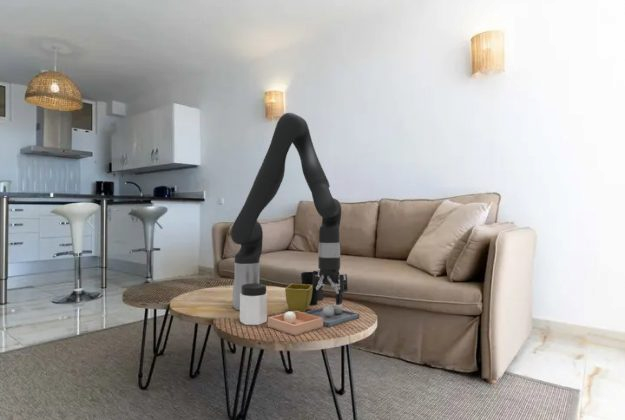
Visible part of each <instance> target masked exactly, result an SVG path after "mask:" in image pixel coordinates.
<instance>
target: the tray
mask: <svg viewBox="0 0 625 420" xmlns="http://www.w3.org/2000/svg"><path fill="white" fill-rule="evenodd" d="M322 310H323V307H320V308H315V309H311V310H306V311H305V312H303V313H307V314H310V315H314V316H318V317H321V318H323V327H325V326H326V328H330V326H331V327H333V326H334V327H335V326H336V325H339V324H343V323H347V322H351V321H353V320H356V319H359V318H360V312H359V313H358V312H355V311H351V310H346V309H343V311H342V312H341V313H340V314H335V313H333V315H332V316H330V317H326V316H325V315H324V314H323V311H322Z"/></svg>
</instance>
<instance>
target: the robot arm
mask: <svg viewBox="0 0 625 420" xmlns="http://www.w3.org/2000/svg"><path fill="white" fill-rule="evenodd" d="M292 145H293V146H294V147H295V149H296V151H297V154H298V156H299V159H300V164H301V170H302V173H303V176H304V179H305V181H306V184H307V186H308V188H309V191H310V192H311V196H312V201H313V204H314V207H315V210H316V212H317V213H318V215H319V216H320V217H321V218H322V222H321V225H320V227H319V228H318V230H319V231H318V248H317V249H318V250H317V251H318V252H317V254H318V258H317V259H318V269H317V270H316V269H315V270H313V271H312V272H313V279H312V287H313V288H316V290H317V299H318V301H317V302H320V301H321V302H322V301H324V287H325V286H329V287H330V286H331V288H332V289H334V291H335V303H336V305H340V304H341V305H343V304H342V303H343V294H344V293H347V292H348V290H349V289H348V275H347V273H343V274H342V273H340V269H341V246H340V226H341V219H342V206H341V202H340V201H339V200H338V199H336V198H334V197H333V195H332V193H331V190H330V187H331V186H330V182H329V180H328V178H327V176H326V174H325V171H324V169H323V167H322V164H321V162H320V160H319V157H318V156H317V153H316V150H315V149H316V148H315V147H314V143H313V140H312V137H311V132H310V129H309V126H308V123H307V121H306V120H305V119H304V118H303V117H302V116H300V115H298V114H296V113H294V112H286V113H284V114H282V115H281V116H280V117H279V119H278V120H277V123H276V125H275V128H274V131H273V134H272V137H271V141H270V144H269V147H268V149H267V151H266V154H265V156H264V159H263V161H262V163H261V165H260V167H259V170H258V172H257V174H256V176H255V178H254V181H253V184H252V186H251V189H250V191H249V193H248V195H247V197H246V199H245V202H244V204H243V206H242V208H241V210H240V211H239V214H238V215H237V217H236V219H235V220H234V222H233V224H232V226H231V230H230V237H231V240H232V241H233V243H234V244H236V245H240V247H239V248H240V249H239V251H238V252H237V253H235V255H234V281H233V282H232V307H233V309H234V310H235V311H240V293H241V286H242V285H244V284H252V283H258V284H260V258H261V255H262V251H263V237H264V236H263V232H264V231H263V227H262V225H261V223H260V222H259V221H258V219H259V216H260V215H261V213H262V212H263V210H264V209H265V208H266V207H267V206H268V205H269V204H270V203H271V202H272V201H273V200H274V198H275V196H276V195H277V193H278V191H279V189H280V187H281V185H282V183H283V180H284V178H285V171H286V160H287V155H288V153H289V151H290V148H291V146H292Z"/></svg>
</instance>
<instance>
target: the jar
mask: <svg viewBox="0 0 625 420" xmlns="http://www.w3.org/2000/svg"><path fill="white" fill-rule="evenodd" d="M239 322H240V323H242V324H243V325H245V326H260V325H262V324H264V323H266V322H267V323H268V293H267V285H266V284H263V283H259V284H258V283H252V284H244V285H242V286H241V293H240V310H239Z"/></svg>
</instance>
